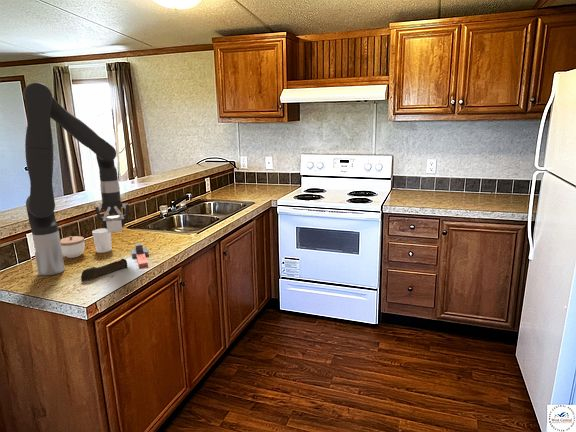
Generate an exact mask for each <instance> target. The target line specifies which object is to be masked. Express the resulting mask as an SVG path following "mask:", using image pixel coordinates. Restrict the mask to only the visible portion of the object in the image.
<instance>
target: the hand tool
mask: <svg viewBox="0 0 576 432" xmlns="http://www.w3.org/2000/svg"><path fill="white" fill-rule="evenodd" d="M125 268H128V261H127V259H125V258H121V259H120V260H117V261H113V262H110V263H108V264H105V265H102V266H97V267H95V266H93V267H90V268H86V269H83V270H82V271H81V276H80V280H81V282H87V281H90V280H95V279H97V278H98V277H100V276H102V275H105V274H108V273H113V272H114V271H117V270H120V269H125Z"/></svg>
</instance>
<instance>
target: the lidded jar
mask: <svg viewBox="0 0 576 432" xmlns="http://www.w3.org/2000/svg"><path fill="white" fill-rule="evenodd" d="M60 243H61V249H62V254H63V256H65V257H66V258H68V259H69V258H71V259H72V258H78V257H80V256H81V255H82V253H83V252H84V250H85V244H86V243H85V237H83V236H76V235H75V236H72V235H69V236H68V237H67V236H66V237H64V238H60Z"/></svg>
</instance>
